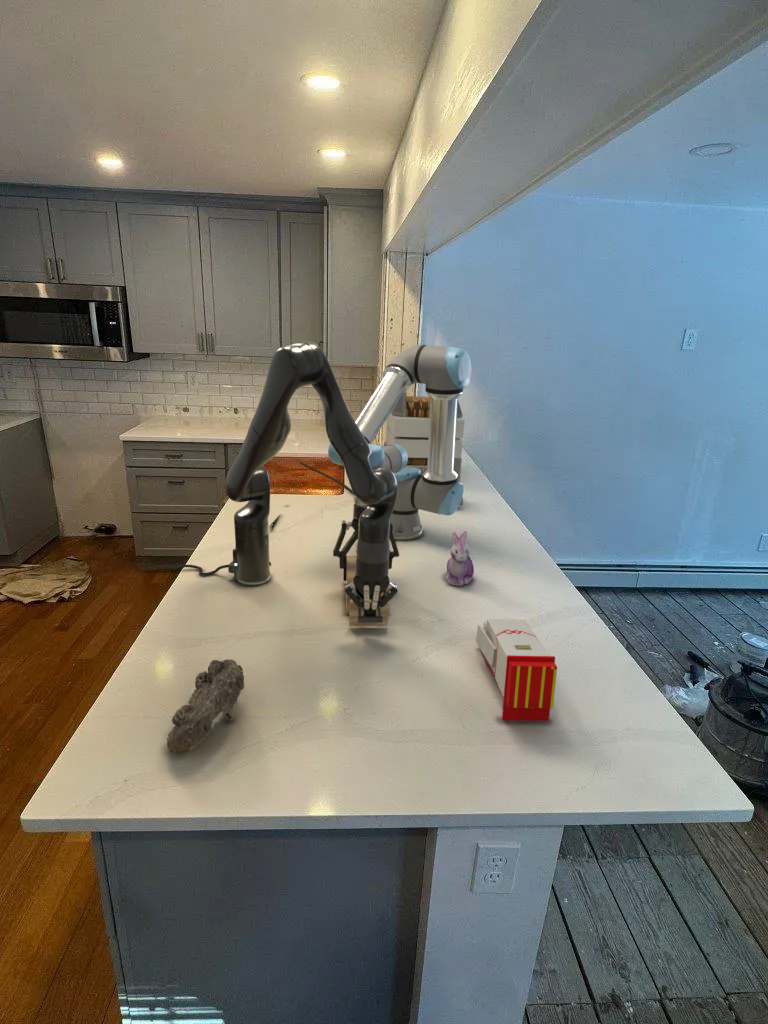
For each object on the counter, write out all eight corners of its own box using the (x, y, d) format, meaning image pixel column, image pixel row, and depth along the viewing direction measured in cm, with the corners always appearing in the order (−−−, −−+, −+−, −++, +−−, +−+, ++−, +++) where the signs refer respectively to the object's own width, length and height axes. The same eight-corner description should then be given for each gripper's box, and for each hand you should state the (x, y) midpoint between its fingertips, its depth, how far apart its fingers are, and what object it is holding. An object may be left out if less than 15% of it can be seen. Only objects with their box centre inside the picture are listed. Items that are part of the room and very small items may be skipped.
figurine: (455, 589, 161) (460, 541, 156) (436, 574, 170) (440, 528, 165) (482, 583, 166) (487, 536, 160) (462, 569, 174) (466, 524, 169)
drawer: (389, 639, 135) (390, 614, 132) (349, 639, 134) (350, 614, 131) (382, 594, 155) (383, 572, 153) (348, 594, 154) (348, 572, 152)
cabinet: (387, 614, 147) (388, 584, 144) (346, 614, 146) (347, 584, 143) (382, 583, 163) (383, 556, 160) (345, 583, 162) (346, 555, 159)
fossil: (192, 660, 117) (244, 628, 112) (224, 691, 120) (276, 661, 115) (142, 746, 98) (202, 712, 93) (182, 779, 101) (242, 748, 96)
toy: (523, 604, 135) (566, 662, 106) (518, 656, 138) (559, 727, 109) (472, 603, 135) (501, 661, 105) (468, 655, 138) (496, 726, 108)
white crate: (382, 463, 289) (386, 382, 275) (445, 464, 293) (451, 384, 279) (390, 482, 257) (394, 392, 243) (460, 483, 261) (468, 394, 247)
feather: (288, 508, 223) (290, 504, 222) (270, 532, 196) (273, 528, 196) (284, 506, 223) (286, 502, 222) (266, 530, 196) (268, 525, 195)
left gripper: (343, 562, 125) (341, 629, 131) (403, 562, 126) (398, 629, 133) (343, 548, 132) (341, 612, 138) (399, 548, 133) (395, 612, 140)
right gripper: (323, 507, 145) (323, 584, 153) (412, 509, 147) (408, 585, 155) (324, 498, 152) (323, 572, 160) (409, 499, 154) (405, 573, 162)
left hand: (369, 620), depth 135 cm, fingers closed
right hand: (365, 578), depth 157 cm, fingers closed on cabinet, 11 cm apart
